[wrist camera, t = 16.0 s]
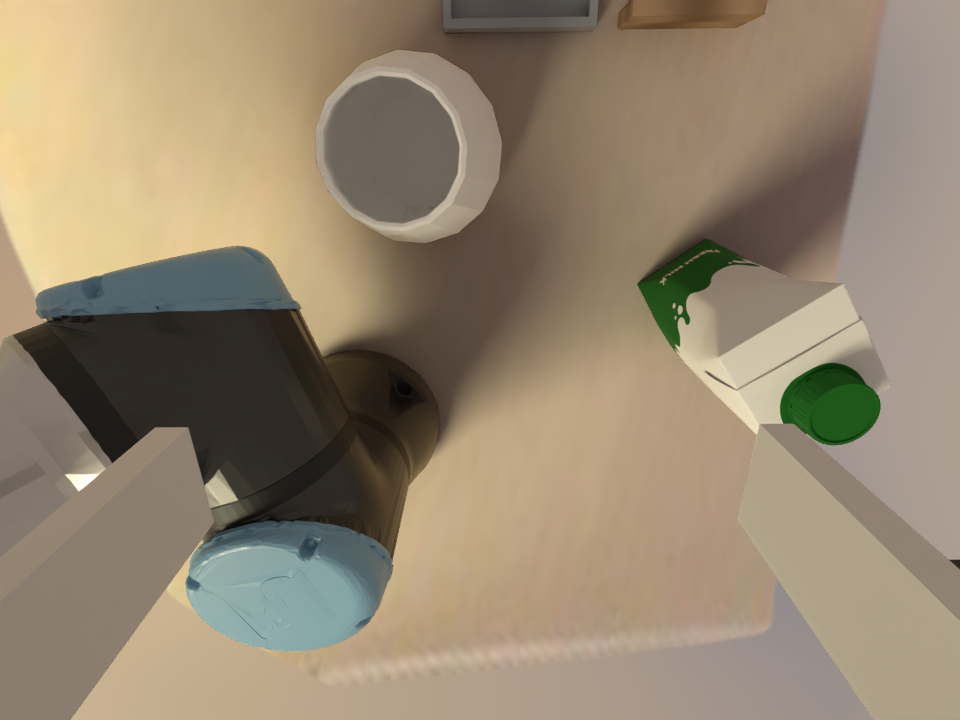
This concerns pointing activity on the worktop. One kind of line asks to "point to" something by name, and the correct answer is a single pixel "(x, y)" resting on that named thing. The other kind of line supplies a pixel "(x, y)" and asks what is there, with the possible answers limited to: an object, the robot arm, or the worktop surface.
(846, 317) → the milk carton
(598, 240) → the worktop surface
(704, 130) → the worktop surface
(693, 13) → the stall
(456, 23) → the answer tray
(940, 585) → the robot arm
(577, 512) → the worktop surface
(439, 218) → the cup
